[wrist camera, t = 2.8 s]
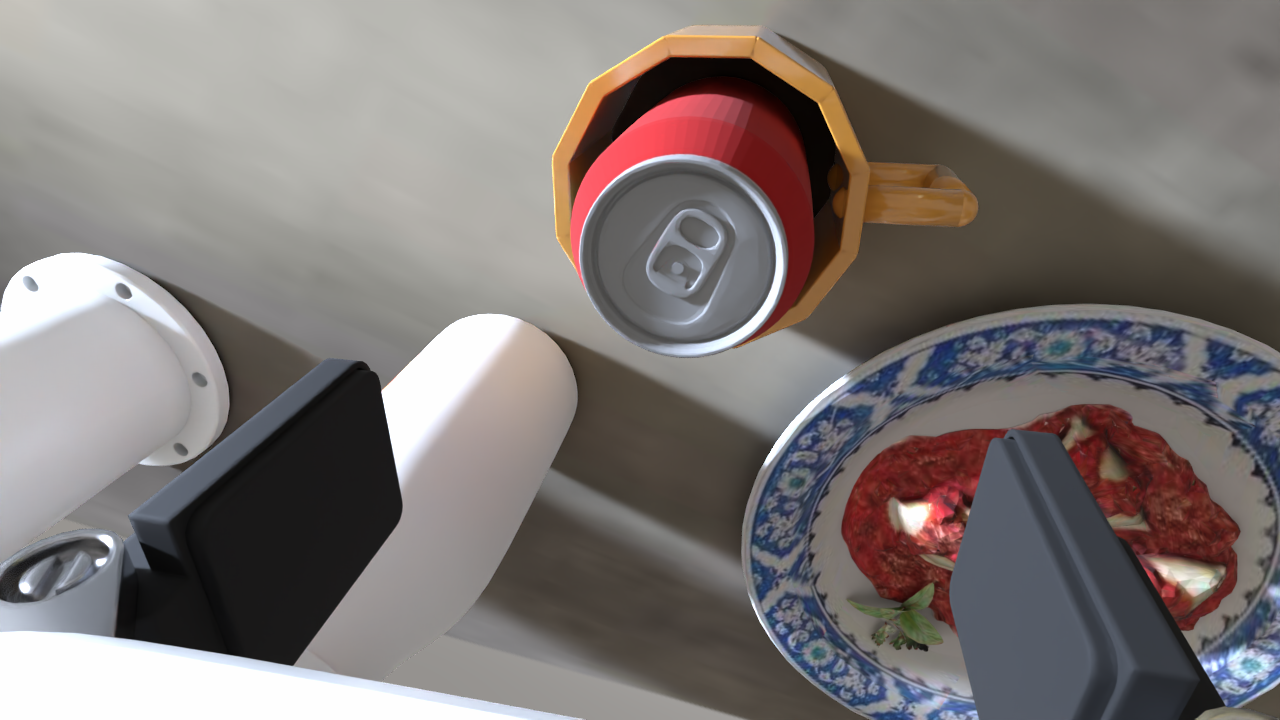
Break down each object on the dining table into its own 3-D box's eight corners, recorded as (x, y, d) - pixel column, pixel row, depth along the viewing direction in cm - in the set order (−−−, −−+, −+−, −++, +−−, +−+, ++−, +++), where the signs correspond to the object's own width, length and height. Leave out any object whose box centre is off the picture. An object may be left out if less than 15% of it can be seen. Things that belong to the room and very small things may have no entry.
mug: (601, 272, 32) (560, 334, 26) (595, 24, 27) (543, 33, 21) (921, 294, 29) (953, 367, 24) (975, 27, 25) (1030, 39, 19)
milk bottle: (483, 276, 33) (136, 603, 15) (612, 379, 34) (428, 790, 17) (405, 380, 36) (52, 742, 19) (525, 470, 38) (298, 888, 20)
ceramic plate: (1263, 163, 25) (1318, 184, 22) (1402, 652, 33) (1455, 709, 30) (649, 428, 35) (638, 463, 32) (870, 755, 43) (875, 805, 40)
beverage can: (609, 192, 30) (512, 302, 19) (689, 37, 27) (625, 69, 16) (746, 272, 30) (724, 423, 20) (842, 131, 27) (876, 221, 17)
